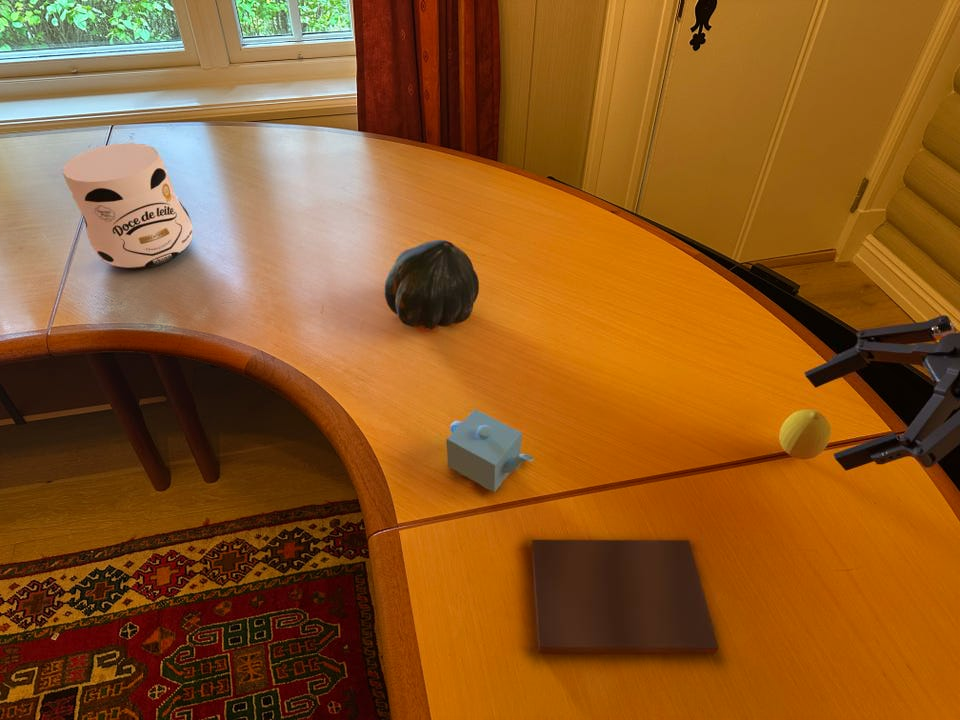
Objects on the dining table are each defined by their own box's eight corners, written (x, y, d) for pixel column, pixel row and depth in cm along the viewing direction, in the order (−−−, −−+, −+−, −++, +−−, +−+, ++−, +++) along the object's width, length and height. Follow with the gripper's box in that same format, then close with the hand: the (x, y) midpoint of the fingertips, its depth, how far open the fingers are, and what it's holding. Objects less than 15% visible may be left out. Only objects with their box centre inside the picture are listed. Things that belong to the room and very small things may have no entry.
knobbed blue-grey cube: (542, 476, 78) (546, 438, 72) (517, 510, 74) (519, 473, 69) (465, 435, 83) (464, 397, 77) (438, 465, 79) (435, 427, 74)
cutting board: (686, 546, 70) (689, 540, 69) (715, 653, 62) (719, 648, 61) (531, 546, 70) (532, 539, 69) (538, 653, 62) (539, 647, 61)
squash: (364, 272, 101) (387, 240, 88) (441, 248, 108) (473, 215, 94) (397, 350, 101) (424, 330, 87) (472, 321, 107) (509, 299, 94)
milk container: (167, 282, 108) (127, 189, 96) (80, 272, 111) (30, 180, 98) (214, 231, 121) (184, 144, 108) (136, 223, 123) (97, 136, 111)
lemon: (784, 431, 83) (806, 391, 78) (823, 456, 80) (849, 416, 74) (763, 452, 80) (783, 412, 75) (802, 478, 77) (826, 438, 72)
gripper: (1112, 451, 56) (869, 520, 68) (986, 290, 74) (812, 367, 86) (1089, 406, 53) (839, 486, 65) (964, 250, 71) (786, 335, 83)
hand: (823, 418), depth 75 cm, fingers open, 13 cm apart
